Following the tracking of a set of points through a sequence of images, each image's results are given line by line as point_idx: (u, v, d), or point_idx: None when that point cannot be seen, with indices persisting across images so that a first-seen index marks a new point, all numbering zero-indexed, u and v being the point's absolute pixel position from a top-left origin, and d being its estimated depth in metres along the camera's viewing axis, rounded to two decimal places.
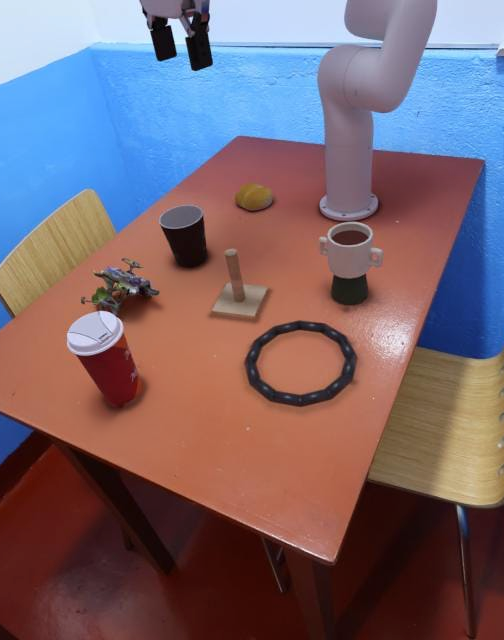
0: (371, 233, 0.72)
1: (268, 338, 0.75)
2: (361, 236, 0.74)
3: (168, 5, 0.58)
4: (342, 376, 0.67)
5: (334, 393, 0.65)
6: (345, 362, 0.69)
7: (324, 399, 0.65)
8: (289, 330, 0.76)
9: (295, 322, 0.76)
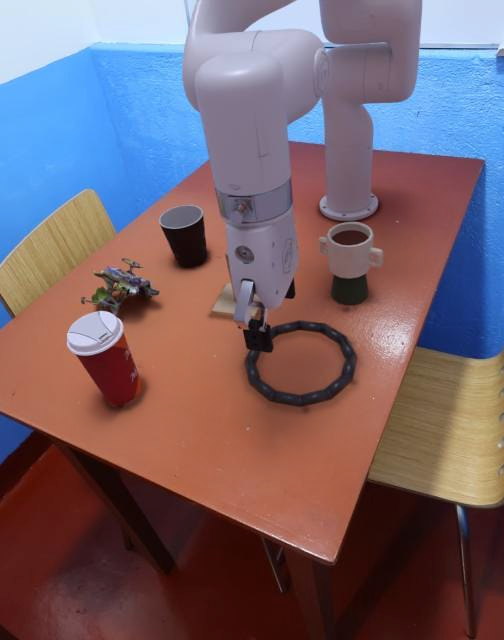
0: (371, 233, 0.72)
1: None
2: (361, 236, 0.74)
3: None
4: (342, 376, 0.67)
5: (334, 393, 0.65)
6: (345, 362, 0.69)
7: (324, 399, 0.65)
8: (289, 330, 0.76)
9: (295, 322, 0.76)
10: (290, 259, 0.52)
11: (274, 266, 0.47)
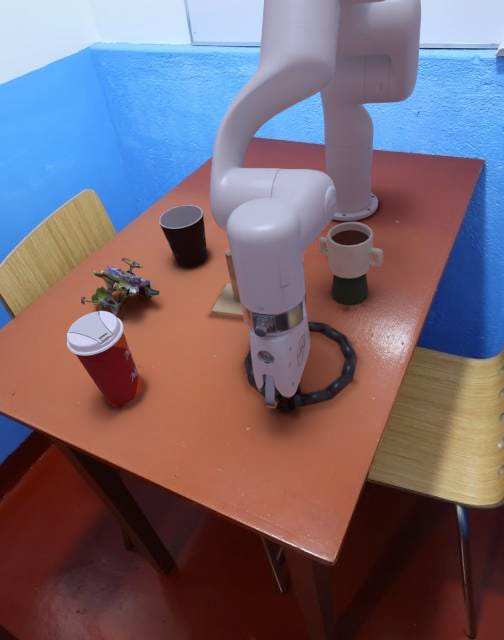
0: (371, 233, 0.72)
1: None
2: (361, 236, 0.74)
3: None
4: (342, 376, 0.67)
5: (334, 393, 0.65)
6: (345, 362, 0.69)
7: (324, 399, 0.65)
8: None
9: None
10: (303, 350, 0.60)
11: (291, 365, 0.55)
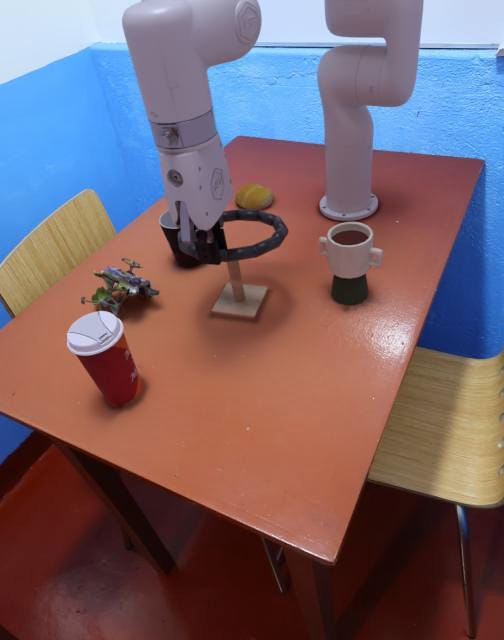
0: (371, 233, 0.72)
1: None
2: (361, 236, 0.74)
3: None
4: (270, 237, 0.67)
5: (260, 248, 0.66)
6: (275, 231, 0.70)
7: (249, 253, 0.65)
8: (226, 216, 0.77)
9: (233, 210, 0.78)
10: (221, 188, 0.59)
11: (202, 189, 0.55)
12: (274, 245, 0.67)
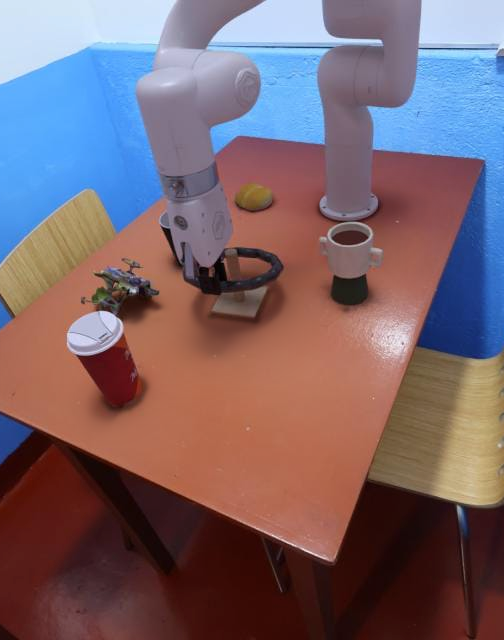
0: (371, 233, 0.72)
1: None
2: (361, 236, 0.74)
3: None
4: (267, 272, 0.74)
5: (257, 281, 0.72)
6: (272, 267, 0.76)
7: (248, 285, 0.71)
8: None
9: (234, 247, 0.85)
10: (222, 229, 0.66)
11: (204, 232, 0.61)
12: (270, 279, 0.73)
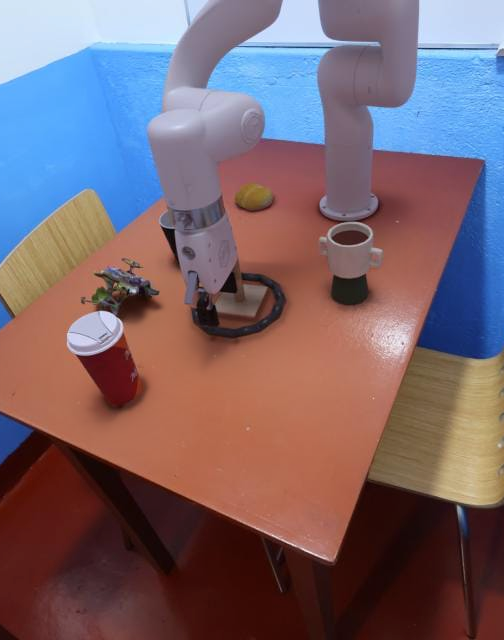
0: (371, 233, 0.72)
1: None
2: (361, 236, 0.74)
3: None
4: (270, 314, 0.79)
5: (262, 327, 0.77)
6: (275, 303, 0.81)
7: (253, 332, 0.77)
8: None
9: None
10: (227, 256, 0.69)
11: (211, 261, 0.64)
12: (274, 321, 0.78)
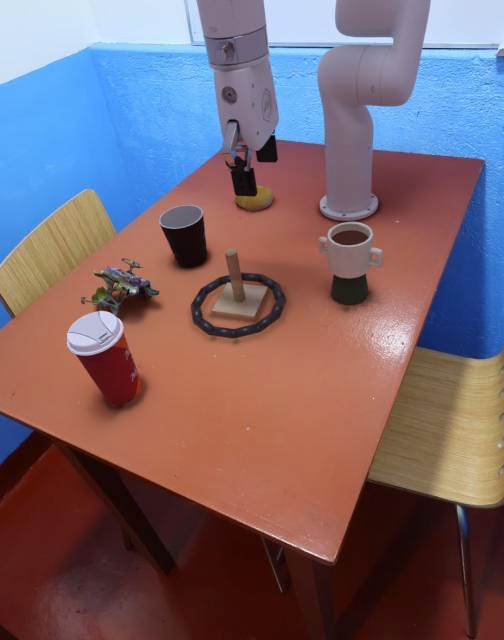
0: (371, 233, 0.72)
1: (213, 286, 0.86)
2: (361, 236, 0.74)
3: None
4: (270, 314, 0.79)
5: (262, 327, 0.77)
6: (275, 303, 0.81)
7: (253, 332, 0.77)
8: None
9: None
10: (269, 111, 0.62)
11: (254, 107, 0.57)
12: (274, 321, 0.78)
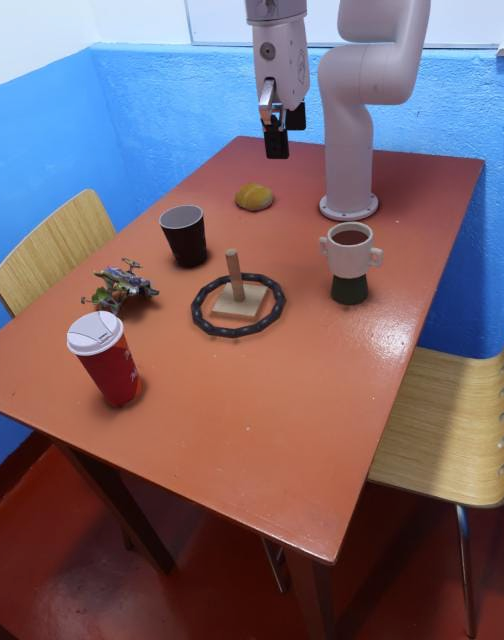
0: (371, 233, 0.72)
1: (213, 286, 0.86)
2: (361, 236, 0.74)
3: None
4: (270, 314, 0.79)
5: (262, 327, 0.77)
6: (275, 303, 0.81)
7: (253, 332, 0.77)
8: None
9: None
10: (303, 73, 0.62)
11: (291, 64, 0.57)
12: (274, 321, 0.78)
